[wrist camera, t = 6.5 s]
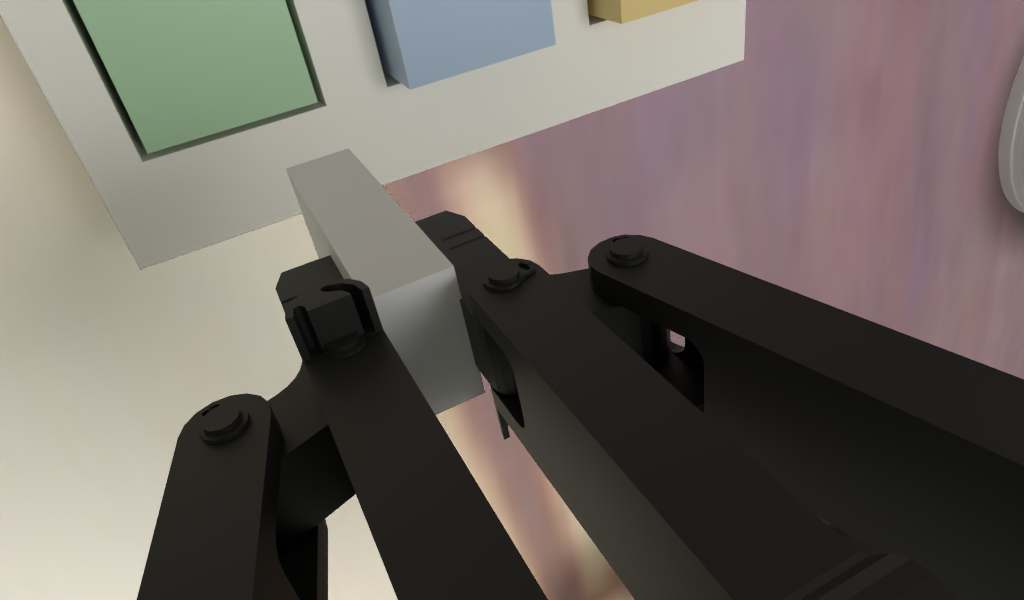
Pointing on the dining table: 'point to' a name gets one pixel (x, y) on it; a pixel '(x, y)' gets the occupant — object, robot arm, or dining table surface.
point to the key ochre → (630, 8)
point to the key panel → (348, 109)
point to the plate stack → (1013, 144)
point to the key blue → (455, 35)
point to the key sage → (198, 63)
